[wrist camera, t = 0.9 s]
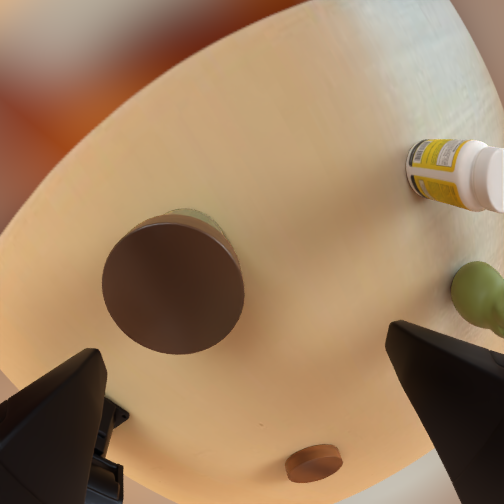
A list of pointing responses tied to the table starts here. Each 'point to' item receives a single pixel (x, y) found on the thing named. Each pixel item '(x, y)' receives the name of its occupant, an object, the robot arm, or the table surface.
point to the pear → (480, 296)
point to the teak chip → (313, 463)
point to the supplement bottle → (458, 173)
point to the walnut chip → (174, 285)
